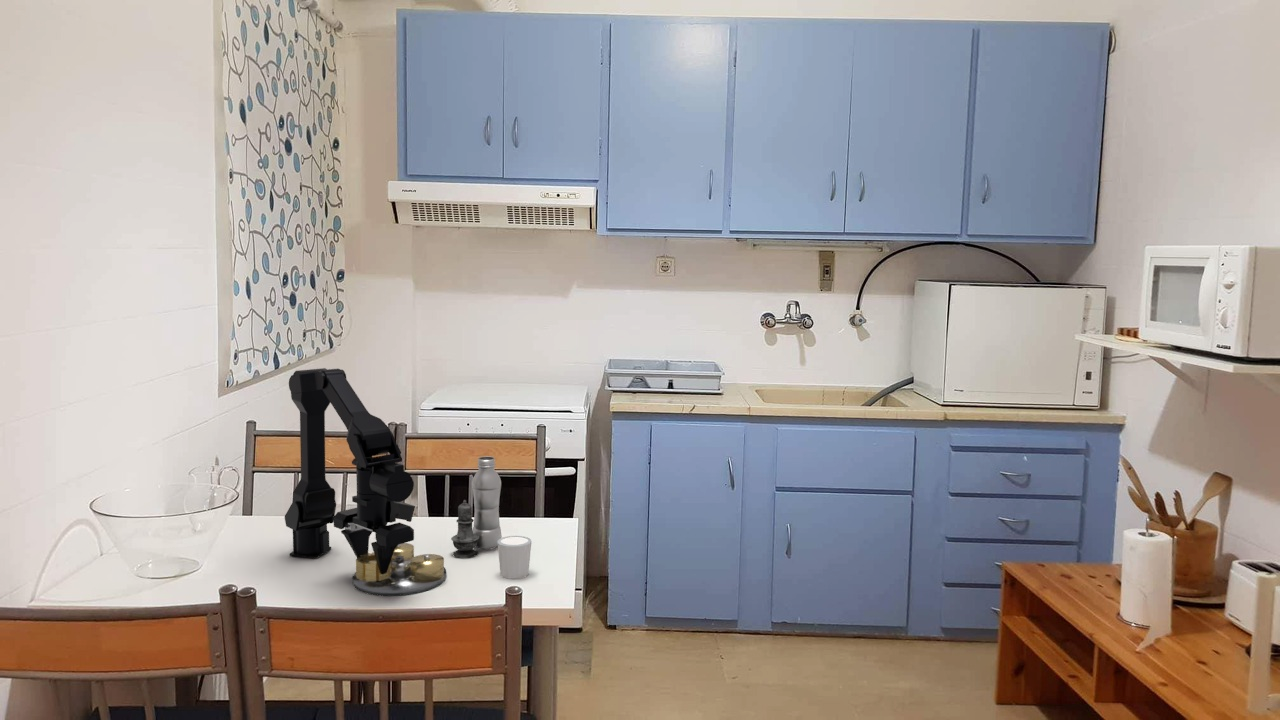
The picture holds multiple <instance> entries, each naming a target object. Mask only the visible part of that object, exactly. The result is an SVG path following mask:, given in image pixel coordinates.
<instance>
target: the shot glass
mask: <svg viewBox="0 0 1280 720" xmlns="http://www.w3.org/2000/svg"><path fill="white" fill-rule="evenodd" d="M497 542H498V547H497V549H498V550H497V552H498V563H499V571H500V572H499V573H500V576H501V577H502V578H503V579H504V578H505V579H509V580H516V579H523V578H525V576H526V577H527V576H528V575H529V573H530V572H529V571H530V563H531V562H530V561H531V553H532V552H531V550H532V539H531V538H530V537H527V536H523V535H509V536H504V537H501V538H500V539H499V540H498V541H497Z"/></svg>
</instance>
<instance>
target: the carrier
mask: <svg viewBox="0 0 1280 720" xmlns="http://www.w3.org/2000/svg"><path fill="white" fill-rule="evenodd" d="M444 560H445V557H443V556H442V555H440V554H435V553H432V554H431V553H427V554H419V555H415V546H414V544H411V543H409V542H406V543H402V544H399V545H398V546H397V547H396V548H395V551H394V553H393V555H392V575H391V577H388V578H387V579H384V580H381V581H379V580H377V581H365V580H364V581H362V580H359V579H357V577H356V571H355V572H354V573H353V574H352V586H353V587H354V589H356V590H357V591H358V592H361V593H364V594H367V593H368V594H367V595H372V594H373V595H372V596H379V595H381V597H382V595H383V597H397V596H398V597H401V596H409V595H416V594H419V593H424V592H427V591H431V590H433V589H435V588H438V587H439V586H441V585H442V584H443V583H444V582H445V581H446V580H447V569H446V567H445V565H444V564H445V563H444V562H445V561H444Z"/></svg>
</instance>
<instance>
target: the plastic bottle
mask: <svg viewBox="0 0 1280 720" xmlns="http://www.w3.org/2000/svg"><path fill="white" fill-rule="evenodd" d="M495 459H496V458H495V457H493V456H489V455H488V456H487V455H486V456H480V457H478V458H477V468H478V470H477V471H476V472H475V474H474V476H473V478H472V480H471V487H472V488H471V489H472V495H473V504H474V505H473V506H474V513H473V514H474V517H473V520H474V521H473V526H472V530H473V534H475V535H478V536H479V539H478V543H477V545H476V547H475V548H476V549H478V550H491V549H492V550H493V549H496V548H498V542H497V541H498V540H499V539H500V538H503V537H502V529H501V525H500V524H501V523H500V512H499V511H500V507H499V506H500V496H501V489H502V480H501V477H500V476H499V473H498V472H497V471H496V470H495V467H496V461H495Z"/></svg>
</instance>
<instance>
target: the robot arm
mask: <svg viewBox="0 0 1280 720" xmlns="http://www.w3.org/2000/svg"><path fill="white" fill-rule="evenodd" d="M288 388H289V391H290V397H291V400H292V402H293V403H294V406H296V408H297V409H298V410H299V428H300V429H299V430H300V431H299V433H300V434H299V435H300V436H299V438H300V439H299V440H300V441H299V442H300V445H299V447H300V480H299V481H298V483H297V485H296V486H295V488H294V490H293V492H292V502H291V505H290V506H289V507H288V509H287V512H286V513H285V514H284V522H285V526H286V527H287V528H289V529H291V530H292V549H293V550H292V551H291V552H289V553H288V556H289V557H298V558H311V559H317V558H319V557H321V556H322V555H324V554H325V553H327V552H329V551H330V550H332V546H330V531H329V530H328V524H333V527H334V528H336V529H338V530H340V532H341V534H342V535H343V536H344V537H345V539H346V541H347V543H348V545H349V546H350V548H351V550H352V551H353V553H354V555H355V556H356V558H357V557H358V556H360V555H363V554H367V553H369V546H370V544H371V547H372V551H373V552H374V555H375V558H376V561H377V565H378V568H379V570H380V573H381V574H386V573H387V570H388V567H389V564H390V561H391V558H392V555H393V553H394V551H395V548H396V547H397V546H398V545H399V544H402V543H409V542H412V541H414V540H415V529H414V528H412V526H411V525H408V524H405V523H403V522H397V521H396V520H397V519H398V520H402V521H403V520H404V521H406V522H407V523H408V522H409V523H410V522H412V520H413V515H414V512H415V509H416V506H415V505H413V504H410V503H406V502H404V501H405V500H407V499H408V498H409V497H410V496H411V494H412V493H413V490H414V487H415V483H414V479H413V477H412V475H411V474H410V472H409V473H408V472H407V471H405V466H404V464H402V463H401V462H403V457H402V455H401V454H402V451H401V449H400V446H399V445H398V443H397V441H396V439H395V436H394V433H393V431H391V428H390V427H389V426H388V425H387V424H386V423H385V422H384V421H383V419H381V418H380V417H377V416H375V415H373V414H371V413H370V412H369V411H368V409H367V408H366V407H365V405H364V404H363V402H362V400H361V399H360V397H359V395H358V394H357V393H356V391H355V390H354V388H353V387H352V386H351V384H350V382H349V381H348V379H347V373H346V372H345V370H343V369H340V368H329V369H328V368H326V367H323V368H312V369H311V368H310V369H301V370H300V369H298V370H295V371H294V372H293V374H291V376H290V378H289V379H288ZM330 404H331V405H332V407H333V409H334V411H335V412H336V413H337V415H338V416H339V418H340V420H341V421H342V423H343V425H344V426H345V429H346V430H347V433H346V442H347V445H348V447H349V450H350V452H351V454H352V455H353V457H354V458H353V459H352V460H351V464H352V465H353V466H355V468H356V469H355V470H356V471H355V472H356V495H353V496H351V497H352V502H353V503H356V507H353V508H349V509H345V510H341V511H337V512H336V509H337V502H336V490H335V488H334V487H332V486H331V485H330V484H329V483H328V480H327V479H326V421H325V419H326V417H325V416H326V415H325V414H326V410H327V409H328V407H329V406H330ZM388 453H389V454H388ZM388 523H391V524H388ZM372 533H375V540H376V541H373V542H370V536H371V535H372ZM369 543H370V544H369Z"/></svg>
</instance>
